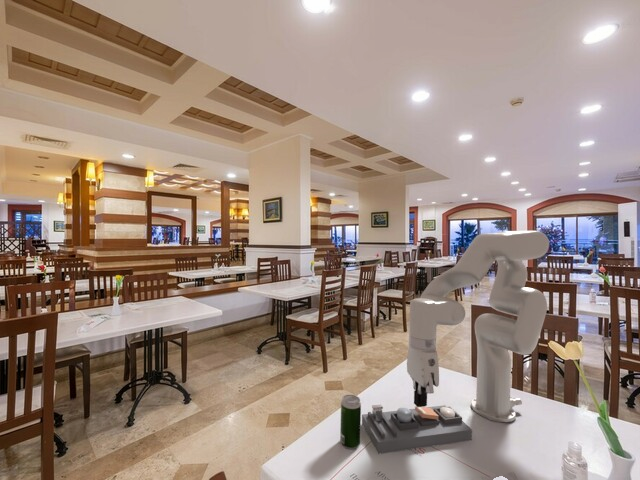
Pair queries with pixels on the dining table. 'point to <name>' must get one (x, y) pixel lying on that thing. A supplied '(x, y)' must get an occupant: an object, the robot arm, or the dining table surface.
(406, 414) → the grey dome
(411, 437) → the switch panel
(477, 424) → the dining table surface
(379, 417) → the slide paddle
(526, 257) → the robot arm
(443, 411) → the white dome button
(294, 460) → the dining table surface
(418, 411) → the rocker switch
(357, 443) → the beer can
